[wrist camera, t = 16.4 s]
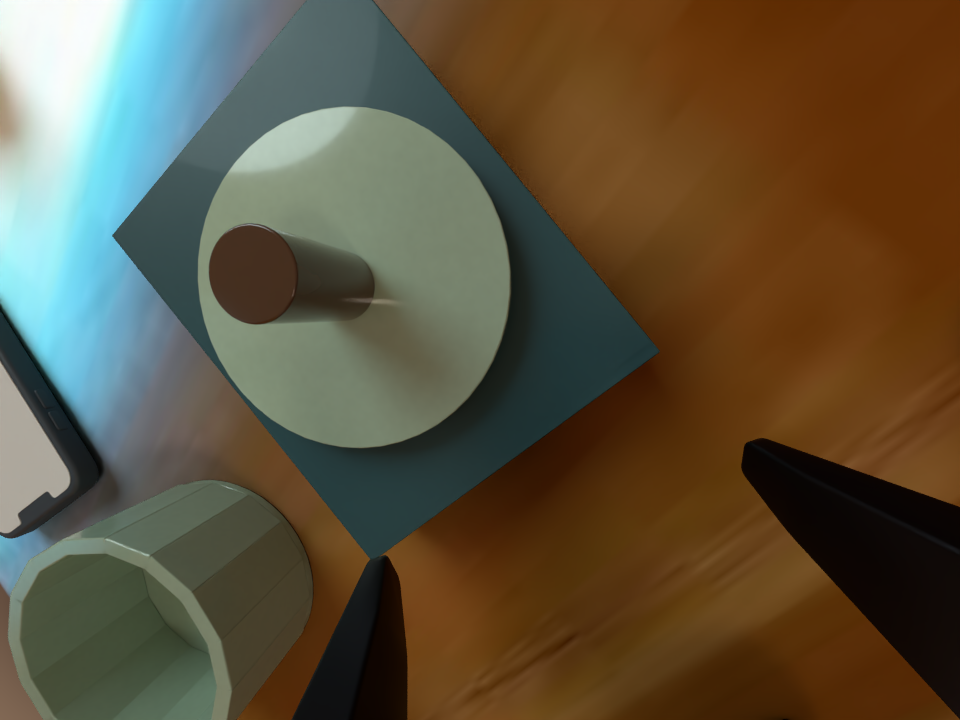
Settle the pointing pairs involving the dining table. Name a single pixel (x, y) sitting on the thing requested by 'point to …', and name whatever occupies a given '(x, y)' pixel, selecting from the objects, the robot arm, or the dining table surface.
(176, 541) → the dish
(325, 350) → the cover
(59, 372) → the dining table surface
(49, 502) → the smartphone
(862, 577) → the robot arm
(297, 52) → the book
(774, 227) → the dining table surface
